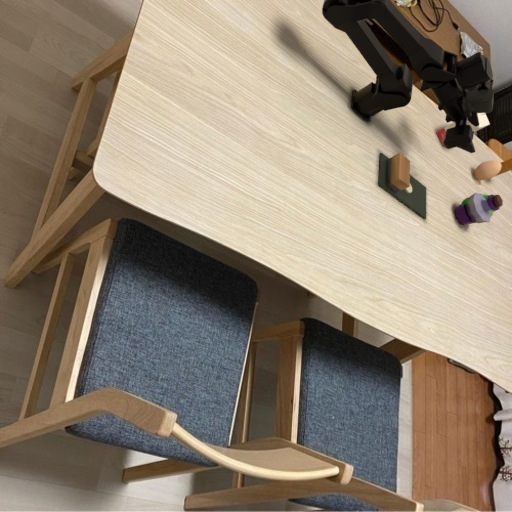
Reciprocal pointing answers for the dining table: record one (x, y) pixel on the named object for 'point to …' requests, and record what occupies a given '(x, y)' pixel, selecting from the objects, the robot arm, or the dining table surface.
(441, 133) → the ink box
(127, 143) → the dining table surface
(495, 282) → the dining table surface
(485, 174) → the egg
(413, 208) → the chalkboard
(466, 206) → the potion bottle
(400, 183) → the brown rectangular block
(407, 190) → the beige disc
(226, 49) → the dining table surface
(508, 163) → the supplement box
